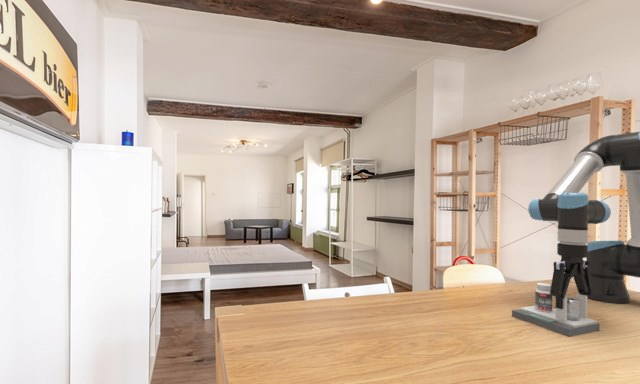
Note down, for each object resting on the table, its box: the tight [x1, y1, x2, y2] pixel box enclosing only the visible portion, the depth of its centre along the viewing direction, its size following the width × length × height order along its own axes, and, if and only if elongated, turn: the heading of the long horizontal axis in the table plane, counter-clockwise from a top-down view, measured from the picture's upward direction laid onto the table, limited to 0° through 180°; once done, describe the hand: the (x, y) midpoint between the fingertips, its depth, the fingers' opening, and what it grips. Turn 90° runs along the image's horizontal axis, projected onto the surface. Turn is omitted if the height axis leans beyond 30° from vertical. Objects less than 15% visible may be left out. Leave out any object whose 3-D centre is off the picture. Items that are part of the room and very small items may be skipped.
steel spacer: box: [565, 296, 579, 321], centre depth 106 cm, size 4×4×6 cm
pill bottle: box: [534, 282, 553, 312], centre depth 113 cm, size 5×5×8 cm
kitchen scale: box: [511, 305, 600, 338], centre depth 109 cm, size 14×18×3 cm
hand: (571, 317), depth 105 cm, fingers open, 9 cm apart
